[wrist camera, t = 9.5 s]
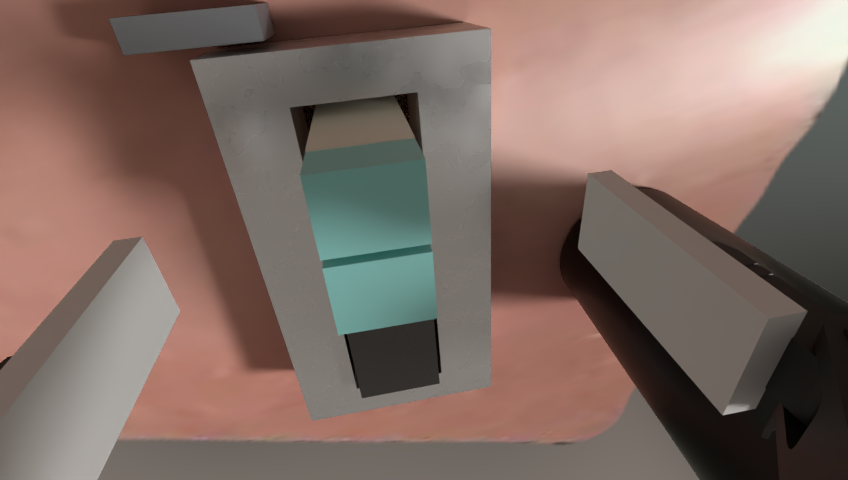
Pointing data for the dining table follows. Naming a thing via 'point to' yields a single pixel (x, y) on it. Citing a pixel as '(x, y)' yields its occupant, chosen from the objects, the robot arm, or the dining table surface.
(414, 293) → the plug
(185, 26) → the pair of grey blocks
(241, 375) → the dining table surface
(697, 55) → the dining table surface
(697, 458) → the water bottle
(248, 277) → the dining table surface
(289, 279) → the panel
